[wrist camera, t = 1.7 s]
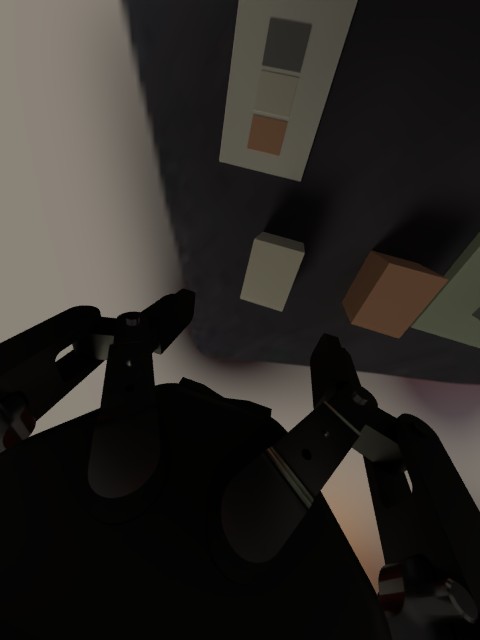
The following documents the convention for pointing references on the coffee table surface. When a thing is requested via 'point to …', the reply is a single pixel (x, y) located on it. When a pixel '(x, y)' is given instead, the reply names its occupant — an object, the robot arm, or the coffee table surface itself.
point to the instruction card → (281, 81)
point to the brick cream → (272, 270)
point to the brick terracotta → (390, 293)
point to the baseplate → (456, 301)
